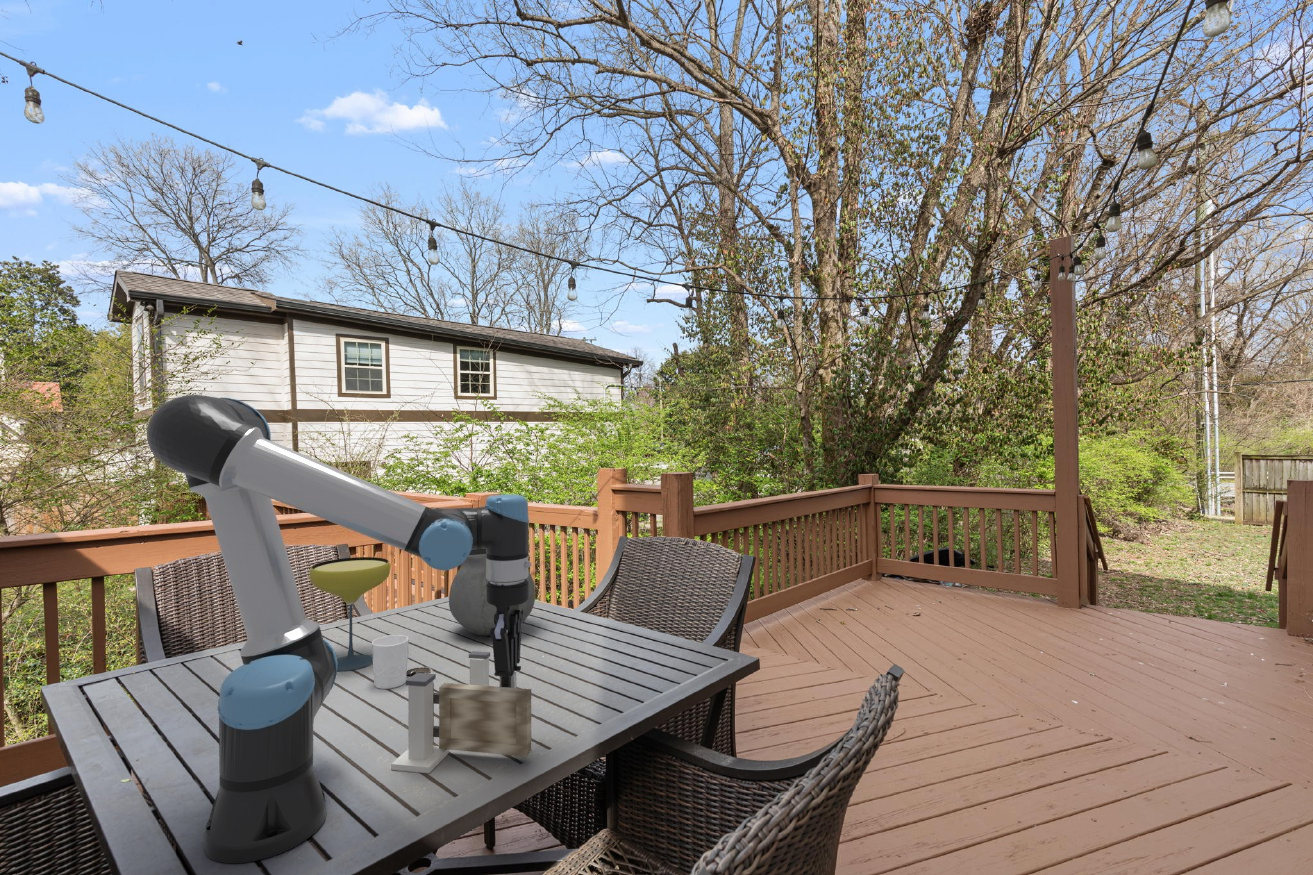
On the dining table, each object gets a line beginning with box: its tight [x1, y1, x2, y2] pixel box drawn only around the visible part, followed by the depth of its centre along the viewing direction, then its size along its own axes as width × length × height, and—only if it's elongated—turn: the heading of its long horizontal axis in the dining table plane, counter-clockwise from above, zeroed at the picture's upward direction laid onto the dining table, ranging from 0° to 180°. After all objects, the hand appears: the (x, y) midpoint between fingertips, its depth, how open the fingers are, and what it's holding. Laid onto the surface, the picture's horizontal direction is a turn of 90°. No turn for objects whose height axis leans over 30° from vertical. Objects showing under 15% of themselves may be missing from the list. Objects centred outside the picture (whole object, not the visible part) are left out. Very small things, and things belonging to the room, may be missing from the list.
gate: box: [433, 682, 532, 758], centre depth 112 cm, size 20×2×11 cm, turn 81°
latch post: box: [468, 650, 491, 686], centre depth 134 cm, size 6×6×11 cm
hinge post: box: [390, 672, 450, 774], centre depth 110 cm, size 7×7×15 cm
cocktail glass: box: [309, 556, 391, 672], centre depth 157 cm, size 18×18×25 cm
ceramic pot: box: [448, 549, 536, 637], centre depth 182 cm, size 24×24×25 cm
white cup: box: [371, 634, 410, 690], centre depth 145 cm, size 8×8×10 cm
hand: (508, 708), depth 114 cm, fingers closed
